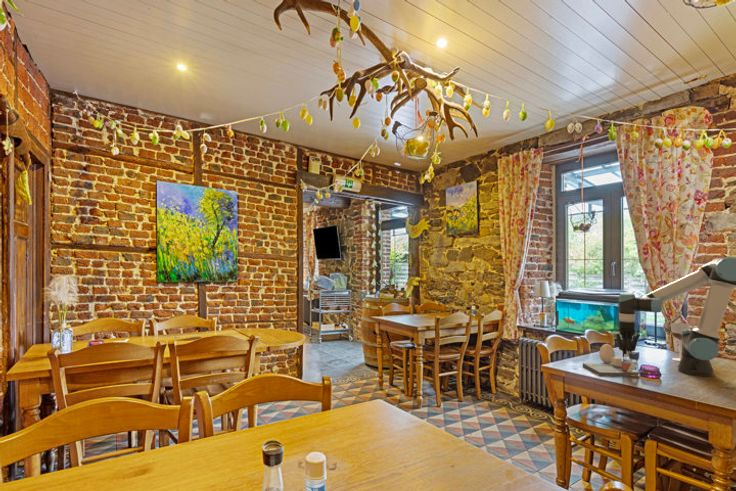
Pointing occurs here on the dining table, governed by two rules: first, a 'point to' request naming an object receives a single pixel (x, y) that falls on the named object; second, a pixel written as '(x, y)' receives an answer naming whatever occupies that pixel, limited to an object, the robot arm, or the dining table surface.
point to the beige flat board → (607, 369)
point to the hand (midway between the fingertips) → (627, 363)
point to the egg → (606, 353)
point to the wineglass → (678, 334)
